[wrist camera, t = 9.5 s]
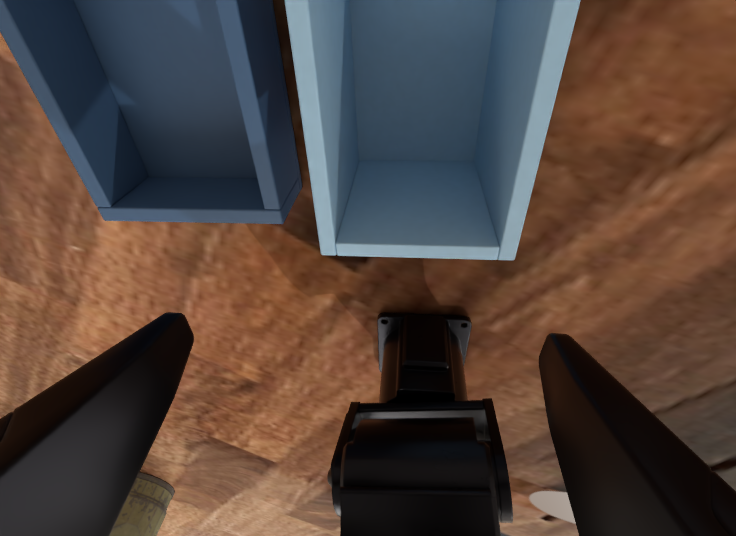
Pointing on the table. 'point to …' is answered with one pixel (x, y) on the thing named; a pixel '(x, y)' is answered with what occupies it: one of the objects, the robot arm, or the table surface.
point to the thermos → (144, 507)
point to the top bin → (426, 119)
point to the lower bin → (164, 104)
